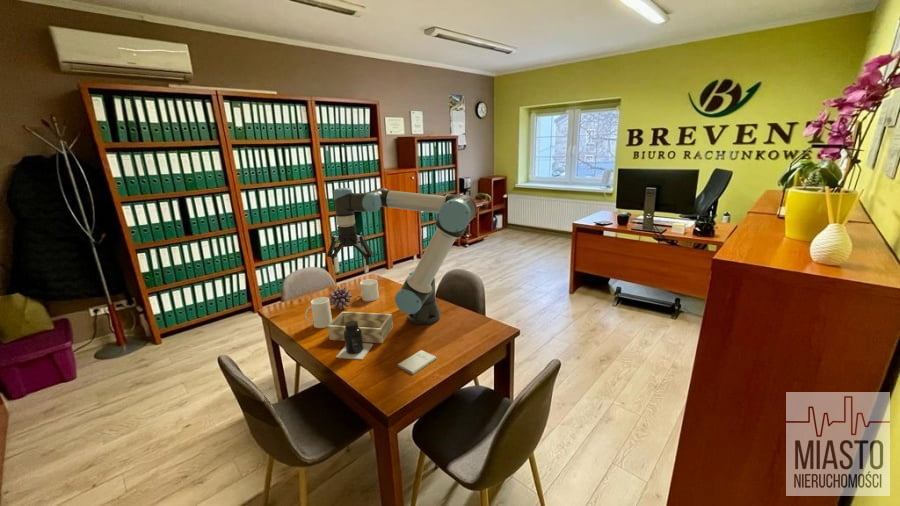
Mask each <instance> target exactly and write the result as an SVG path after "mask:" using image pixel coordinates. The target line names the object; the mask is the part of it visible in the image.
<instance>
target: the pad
mask: <svg viewBox="0 0 900 506" xmlns="http://www.w3.org/2000/svg"><path fill="white" fill-rule="evenodd" d="M373 346H374V344H373V343H370V342H363V350H362V351H361V352H359V353H357V354H349V353H347V351H346V346H345V345H344V347H343V348H342V349H341V350H340V351H339V353H338V354H337V355H336V356H335V357H336V358H338V359H346V360H347V359H349V360H360V361H362V360H364V358H365V357H366V355H367V354H368V353H369V351H370V350H371V348H372V347H373Z"/></svg>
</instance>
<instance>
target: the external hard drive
mask: <svg viewBox="0 0 900 506" xmlns="http://www.w3.org/2000/svg"><path fill="white" fill-rule="evenodd" d="M435 359H437V356H435V355H434V354H432V353H429V352H427V351H424V350H422V349H421V350H419V351H417V352H416V353H414V354H412V355H411V356H409V357H408V358H406V359H404V360H402V361H401V362H399V363H398V364H397V367H398V368H400V369H402V370H403V371H405V372H407V373H409V374H411V375H414V374H416V373H418V372H420V371H421V370H423V368H425V367H427V366H428V365H429V363H430V364H432V362H434V361H436V360H435Z"/></svg>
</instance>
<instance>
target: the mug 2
mask: <svg viewBox="0 0 900 506" xmlns="http://www.w3.org/2000/svg"><path fill="white" fill-rule="evenodd" d="M359 284H360V285H359V286H360V294H361V299H362V301H364V302H373V301H376V300H378V299H379V296H380V294H379V285H378V280H377V279H375V278H368V279H364V280H361V281H360V283H359Z"/></svg>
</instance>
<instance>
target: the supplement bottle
mask: <svg viewBox="0 0 900 506" xmlns="http://www.w3.org/2000/svg"><path fill="white" fill-rule="evenodd" d="M359 327H360V326H358V323H357V321H349V322H347V323H346V324H345V329H346V330H345V331H344V339H345V341H344V344H345V345H344V347H345V346H346V351H347V353H349V354H357V353H359V352H361V351H362V350H363V343H364V342H363V341H362V333H361V329H360V328H359Z"/></svg>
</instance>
